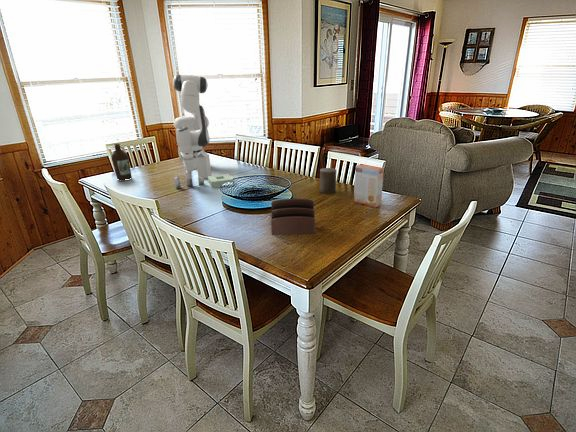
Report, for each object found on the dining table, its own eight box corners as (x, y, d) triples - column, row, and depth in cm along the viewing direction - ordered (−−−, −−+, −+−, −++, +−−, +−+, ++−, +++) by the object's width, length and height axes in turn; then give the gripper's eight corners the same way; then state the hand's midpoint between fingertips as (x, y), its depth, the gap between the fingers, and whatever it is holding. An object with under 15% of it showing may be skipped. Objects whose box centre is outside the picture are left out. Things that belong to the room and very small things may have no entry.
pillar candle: (334, 194, 201) (335, 170, 195) (318, 193, 203) (319, 169, 197) (336, 189, 210) (337, 165, 204) (320, 188, 212) (320, 165, 206)
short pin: (198, 184, 226) (197, 177, 224) (204, 183, 227) (203, 176, 225) (199, 185, 222) (198, 178, 221) (205, 185, 224) (204, 177, 222)
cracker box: (381, 205, 184) (384, 167, 176) (375, 208, 180) (378, 170, 172) (359, 199, 193) (361, 163, 185) (353, 202, 189) (355, 165, 181)
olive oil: (114, 179, 240) (106, 144, 231) (129, 176, 247) (122, 141, 237) (119, 182, 233) (111, 146, 223) (135, 179, 240) (127, 143, 230)
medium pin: (175, 187, 221) (173, 177, 218) (180, 186, 222) (179, 176, 219) (175, 189, 217) (173, 178, 215) (181, 188, 219) (179, 177, 216)
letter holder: (272, 226, 163) (271, 198, 158) (313, 225, 163) (313, 197, 157) (271, 235, 154) (270, 206, 148) (315, 234, 154) (315, 205, 148)
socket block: (208, 182, 230) (207, 176, 228) (228, 179, 234) (228, 173, 233) (212, 188, 218) (211, 182, 216) (233, 185, 222) (233, 179, 221)
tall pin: (187, 185, 223) (184, 171, 219) (192, 185, 224) (190, 170, 220) (187, 187, 220) (185, 172, 216) (193, 186, 221) (191, 171, 217)
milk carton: (211, 175, 244) (208, 149, 236) (208, 178, 237) (205, 151, 230) (201, 175, 244) (198, 149, 237) (198, 178, 238) (195, 151, 230)
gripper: (179, 151, 221) (182, 172, 227) (182, 157, 204) (186, 179, 209) (189, 150, 224) (191, 170, 229) (193, 156, 206) (196, 178, 211)
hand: (189, 175), depth 219 cm, fingers open, 8 cm apart
